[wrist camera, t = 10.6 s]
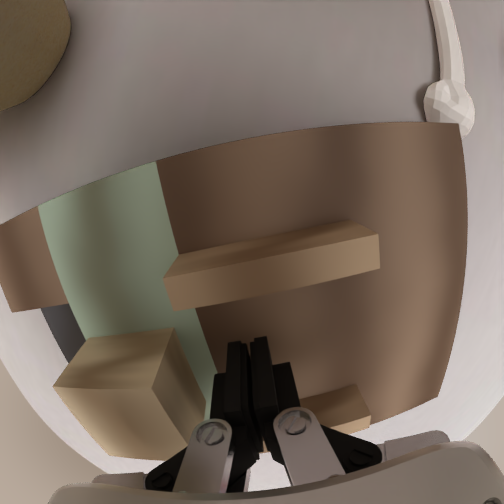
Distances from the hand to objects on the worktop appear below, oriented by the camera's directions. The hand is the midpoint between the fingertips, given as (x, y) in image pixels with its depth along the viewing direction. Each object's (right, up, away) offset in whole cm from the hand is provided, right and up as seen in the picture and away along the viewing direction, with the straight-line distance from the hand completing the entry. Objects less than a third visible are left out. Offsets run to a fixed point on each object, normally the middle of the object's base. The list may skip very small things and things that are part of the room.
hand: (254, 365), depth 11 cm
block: (-5, -1, +1) cm, 6 cm away
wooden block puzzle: (-1, +1, +4) cm, 4 cm away
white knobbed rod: (+12, +25, -2) cm, 28 cm away
